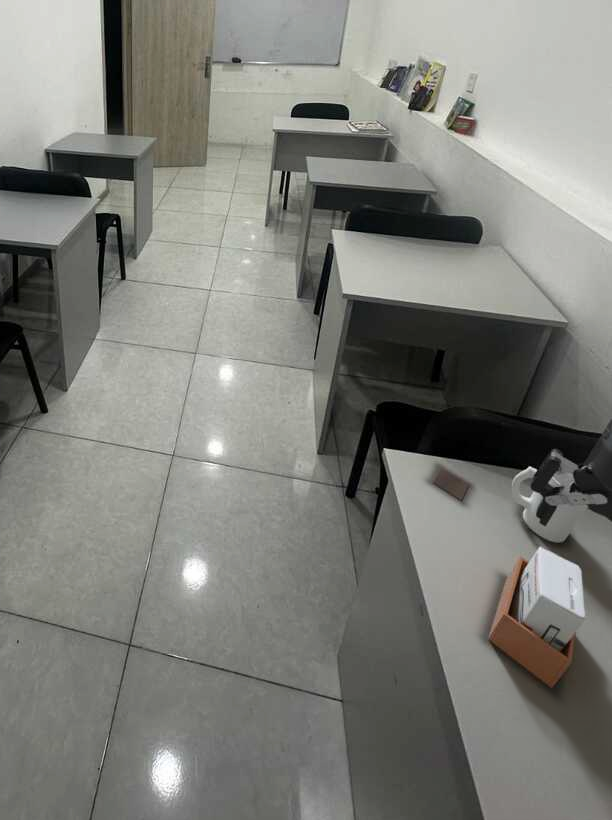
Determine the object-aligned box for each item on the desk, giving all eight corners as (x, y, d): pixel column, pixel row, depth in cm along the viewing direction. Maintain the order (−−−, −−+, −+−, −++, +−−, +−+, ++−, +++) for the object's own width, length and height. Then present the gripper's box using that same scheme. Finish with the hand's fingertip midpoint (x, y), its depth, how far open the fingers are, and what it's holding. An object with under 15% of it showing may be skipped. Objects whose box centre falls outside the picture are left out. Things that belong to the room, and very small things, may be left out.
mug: (563, 521, 86) (592, 473, 81) (570, 553, 80) (602, 504, 75) (497, 493, 90) (522, 446, 85) (500, 521, 85) (526, 473, 80)
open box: (562, 622, 70) (581, 595, 68) (550, 689, 63) (571, 662, 60) (504, 582, 75) (520, 556, 72) (486, 640, 67) (503, 613, 65)
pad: (468, 486, 91) (469, 484, 91) (460, 502, 87) (461, 500, 87) (440, 469, 94) (440, 467, 94) (431, 484, 91) (432, 482, 90)
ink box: (507, 592, 73) (537, 542, 68) (546, 614, 71) (581, 564, 66) (505, 645, 67) (539, 594, 62) (549, 672, 64) (587, 620, 59)
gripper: (731, 475, 53) (657, 567, 59) (572, 402, 62) (523, 489, 68) (738, 517, 48) (657, 613, 54) (564, 432, 57) (511, 523, 63)
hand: (582, 544), depth 61 cm, fingers open, 8 cm apart
